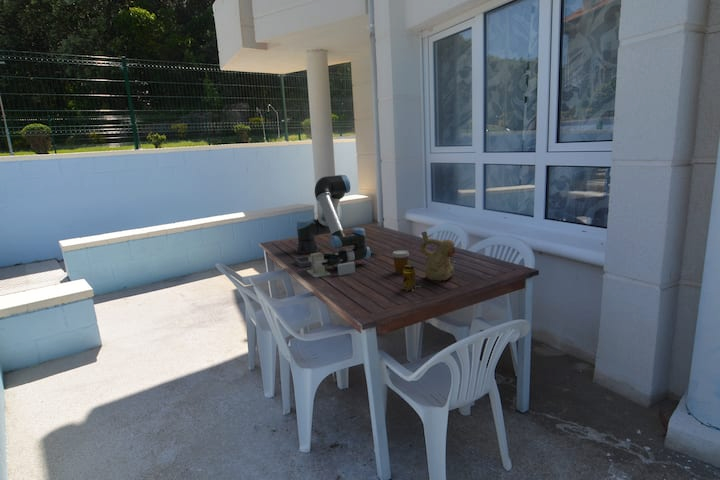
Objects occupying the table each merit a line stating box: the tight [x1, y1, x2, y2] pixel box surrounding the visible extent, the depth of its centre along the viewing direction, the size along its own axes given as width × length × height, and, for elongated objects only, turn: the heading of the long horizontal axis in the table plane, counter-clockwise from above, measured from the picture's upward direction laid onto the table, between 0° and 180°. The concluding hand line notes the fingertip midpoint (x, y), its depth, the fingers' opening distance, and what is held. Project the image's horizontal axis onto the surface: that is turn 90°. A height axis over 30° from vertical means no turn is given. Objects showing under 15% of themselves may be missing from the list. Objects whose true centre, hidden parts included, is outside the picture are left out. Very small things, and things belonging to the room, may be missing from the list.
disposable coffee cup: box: [392, 249, 410, 275], centre depth 242 cm, size 10×10×12 cm
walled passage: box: [324, 252, 356, 276], centre depth 257 cm, size 26×10×6 cm, turn 25°
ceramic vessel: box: [420, 230, 457, 282], centre depth 228 cm, size 17×20×25 cm
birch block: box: [310, 251, 326, 274], centre depth 251 cm, size 6×6×11 cm
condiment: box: [402, 264, 422, 292], centre depth 216 cm, size 7×8×12 cm
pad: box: [305, 268, 332, 278], centre depth 252 cm, size 16×10×1 cm, turn 25°
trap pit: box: [294, 255, 312, 269], centre depth 272 cm, size 14×14×3 cm
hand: (312, 262), depth 249 cm, fingers open, 13 cm apart
